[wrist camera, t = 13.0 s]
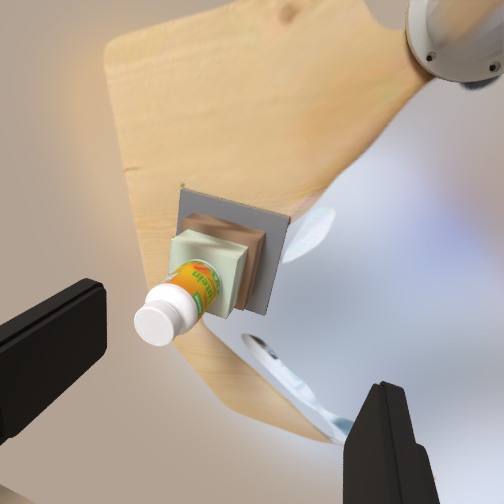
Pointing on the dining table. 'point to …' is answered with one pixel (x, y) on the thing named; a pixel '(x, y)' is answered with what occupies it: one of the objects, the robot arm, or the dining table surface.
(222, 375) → the dining table surface
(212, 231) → the two-tone block stack
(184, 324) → the supplement bottle
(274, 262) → the baseplate
